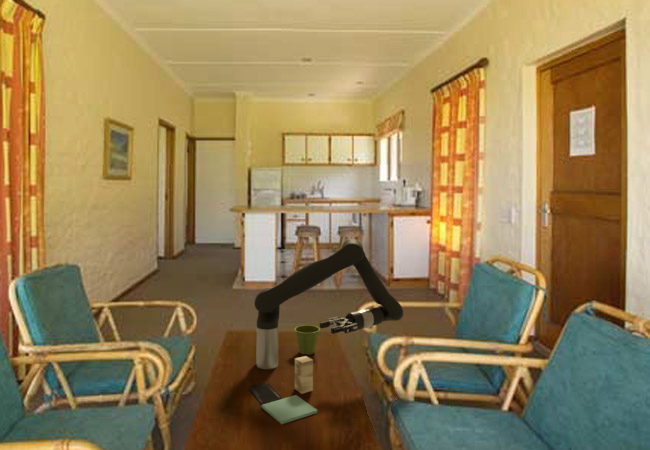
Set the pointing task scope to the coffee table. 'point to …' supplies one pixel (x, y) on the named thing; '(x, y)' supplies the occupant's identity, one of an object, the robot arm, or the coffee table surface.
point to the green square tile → (289, 409)
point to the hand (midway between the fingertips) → (325, 328)
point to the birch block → (303, 374)
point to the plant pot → (307, 338)
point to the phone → (264, 393)
